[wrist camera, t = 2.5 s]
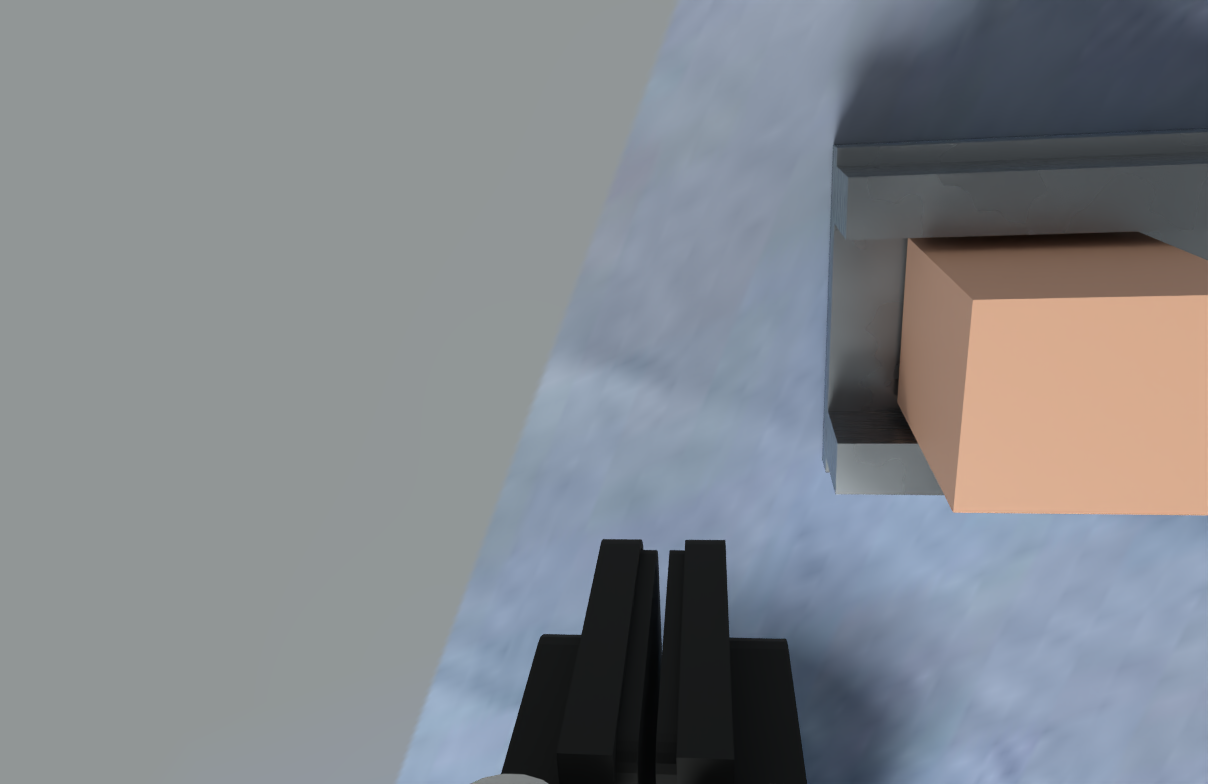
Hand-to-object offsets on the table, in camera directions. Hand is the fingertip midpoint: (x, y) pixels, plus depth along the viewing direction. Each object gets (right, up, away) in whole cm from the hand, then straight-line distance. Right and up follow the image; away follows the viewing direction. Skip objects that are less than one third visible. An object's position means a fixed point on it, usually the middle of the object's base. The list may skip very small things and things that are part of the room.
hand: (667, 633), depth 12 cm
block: (+11, +5, +13) cm, 18 cm away
